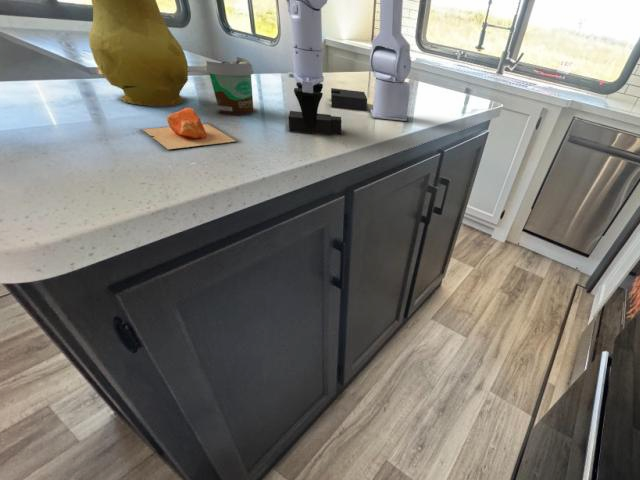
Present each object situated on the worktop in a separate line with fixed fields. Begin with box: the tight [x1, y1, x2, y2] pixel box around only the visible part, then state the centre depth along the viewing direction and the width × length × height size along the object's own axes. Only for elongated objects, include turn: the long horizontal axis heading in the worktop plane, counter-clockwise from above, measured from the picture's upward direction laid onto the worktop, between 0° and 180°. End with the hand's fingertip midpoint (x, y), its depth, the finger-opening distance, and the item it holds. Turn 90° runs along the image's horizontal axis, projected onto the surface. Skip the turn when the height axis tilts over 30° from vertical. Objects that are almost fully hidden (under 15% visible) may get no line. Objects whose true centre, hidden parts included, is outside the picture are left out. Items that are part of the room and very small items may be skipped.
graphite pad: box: [330, 87, 368, 112], centre depth 98 cm, size 10×10×3 cm
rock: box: [141, 107, 236, 150], centre depth 62 cm, size 12×12×4 cm
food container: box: [206, 56, 254, 116], centre depth 77 cm, size 12×6×10 cm, turn 168°
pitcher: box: [88, 0, 189, 107], centre depth 71 cm, size 17×19×25 cm
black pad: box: [287, 110, 342, 136], centre depth 75 cm, size 11×5×3 cm, turn 99°
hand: (310, 123), depth 75 cm, fingers open, 6 cm apart
